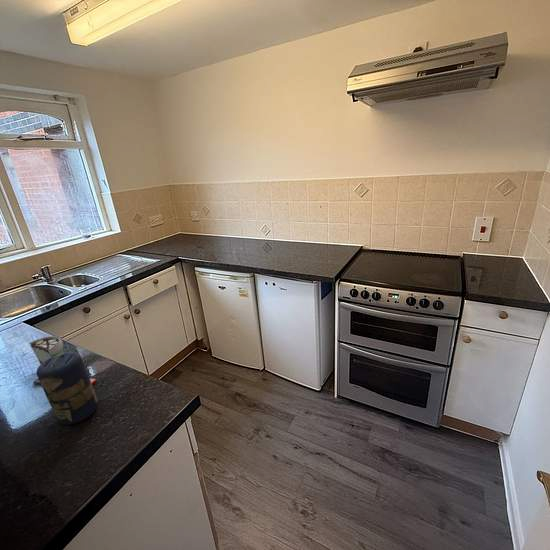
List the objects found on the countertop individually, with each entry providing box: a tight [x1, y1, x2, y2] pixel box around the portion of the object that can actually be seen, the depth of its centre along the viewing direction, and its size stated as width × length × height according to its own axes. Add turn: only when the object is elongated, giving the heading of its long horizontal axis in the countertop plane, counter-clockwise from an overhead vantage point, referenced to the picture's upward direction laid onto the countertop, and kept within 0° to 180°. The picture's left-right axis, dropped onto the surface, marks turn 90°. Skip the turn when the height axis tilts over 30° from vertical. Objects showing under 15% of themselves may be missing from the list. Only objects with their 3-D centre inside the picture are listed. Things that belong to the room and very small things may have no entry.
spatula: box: [32, 378, 97, 386], centre depth 92 cm, size 20×5×1 cm, turn 80°
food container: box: [29, 336, 65, 365], centre depth 100 cm, size 12×6×10 cm, turn 63°
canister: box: [35, 351, 99, 426], centre depth 77 cm, size 10×10×18 cm
